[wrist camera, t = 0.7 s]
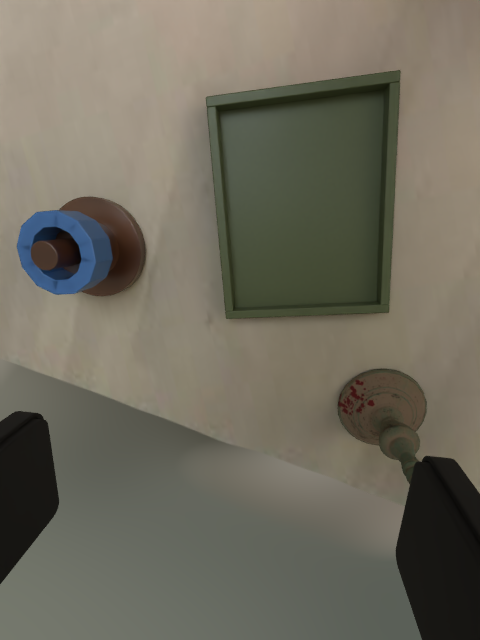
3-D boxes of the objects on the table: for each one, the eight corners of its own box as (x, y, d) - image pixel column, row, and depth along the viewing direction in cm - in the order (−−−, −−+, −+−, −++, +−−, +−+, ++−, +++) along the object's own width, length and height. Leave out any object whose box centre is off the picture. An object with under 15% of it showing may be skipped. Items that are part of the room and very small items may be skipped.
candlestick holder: (370, 352, 35) (771, 964, 6) (443, 396, 35) (1149, 1168, 6) (321, 416, 37) (438, 1037, 9) (389, 455, 38) (713, 1177, 9)
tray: (210, 104, 30) (205, 96, 28) (392, 80, 28) (400, 69, 26) (229, 313, 35) (225, 319, 33) (382, 307, 33) (389, 312, 31)
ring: (33, 215, 31) (8, 214, 28) (104, 208, 30) (85, 207, 27) (51, 289, 33) (29, 296, 30) (118, 285, 32) (101, 292, 29)
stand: (46, 202, 34) (-29, 195, 26) (137, 193, 33) (88, 183, 25) (67, 296, 37) (5, 317, 29) (152, 291, 36) (112, 312, 28)
